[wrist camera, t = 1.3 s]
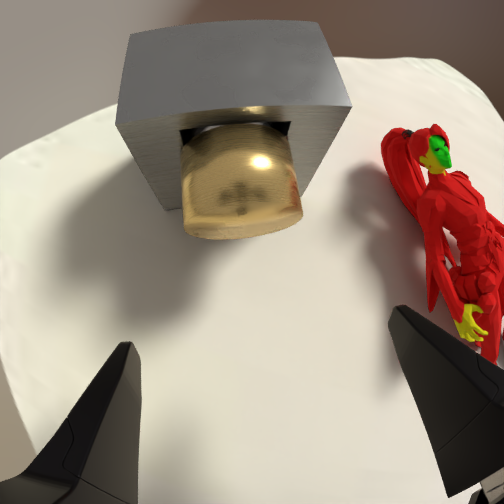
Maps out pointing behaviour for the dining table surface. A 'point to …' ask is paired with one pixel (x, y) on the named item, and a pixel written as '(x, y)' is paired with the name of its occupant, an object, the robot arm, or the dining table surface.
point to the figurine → (460, 226)
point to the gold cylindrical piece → (238, 182)
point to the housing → (228, 92)
